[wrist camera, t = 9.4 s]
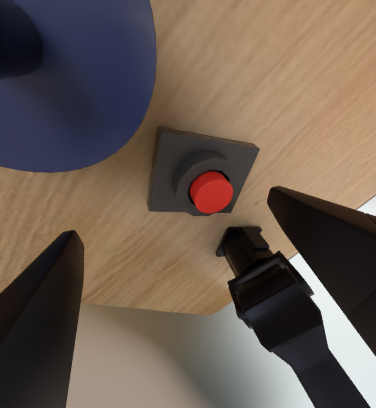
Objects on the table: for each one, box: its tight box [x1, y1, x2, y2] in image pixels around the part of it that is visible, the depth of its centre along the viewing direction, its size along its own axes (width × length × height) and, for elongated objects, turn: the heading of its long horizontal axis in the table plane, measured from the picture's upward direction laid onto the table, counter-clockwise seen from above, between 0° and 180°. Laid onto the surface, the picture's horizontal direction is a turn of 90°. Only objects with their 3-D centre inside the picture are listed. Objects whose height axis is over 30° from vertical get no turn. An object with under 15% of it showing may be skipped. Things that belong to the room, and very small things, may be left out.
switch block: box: [147, 127, 260, 216], centre depth 21 cm, size 9×11×4 cm
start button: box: [190, 171, 233, 213], centre depth 19 cm, size 4×4×2 cm
